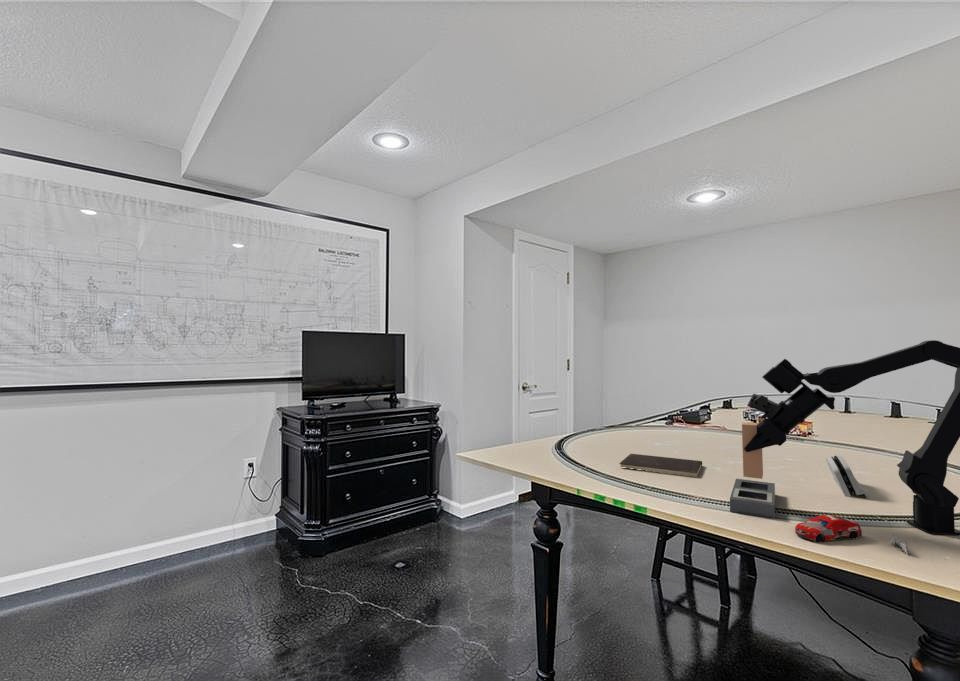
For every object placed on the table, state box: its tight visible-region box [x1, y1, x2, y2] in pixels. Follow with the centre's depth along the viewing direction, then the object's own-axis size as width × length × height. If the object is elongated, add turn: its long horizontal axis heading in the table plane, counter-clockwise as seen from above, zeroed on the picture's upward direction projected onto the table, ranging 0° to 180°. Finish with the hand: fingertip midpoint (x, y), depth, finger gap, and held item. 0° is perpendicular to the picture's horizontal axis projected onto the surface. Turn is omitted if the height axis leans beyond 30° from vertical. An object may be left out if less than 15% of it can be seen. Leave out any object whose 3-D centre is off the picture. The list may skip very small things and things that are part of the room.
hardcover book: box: [619, 453, 703, 478], centre depth 152 cm, size 16×23×2 cm
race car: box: [794, 514, 863, 544], centre depth 96 cm, size 13×5×4 cm, turn 98°
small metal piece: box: [890, 534, 911, 556], centre depth 89 cm, size 6×2×3 cm, turn 160°
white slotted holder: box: [825, 454, 871, 500], centre depth 128 cm, size 17×5×10 cm, turn 150°
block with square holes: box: [729, 478, 776, 519], centre depth 117 cm, size 20×9×3 cm, turn 147°
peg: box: [741, 421, 764, 480], centre depth 117 cm, size 4×4×13 cm
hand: (746, 448), depth 117 cm, fingers closed on peg, 4 cm apart
